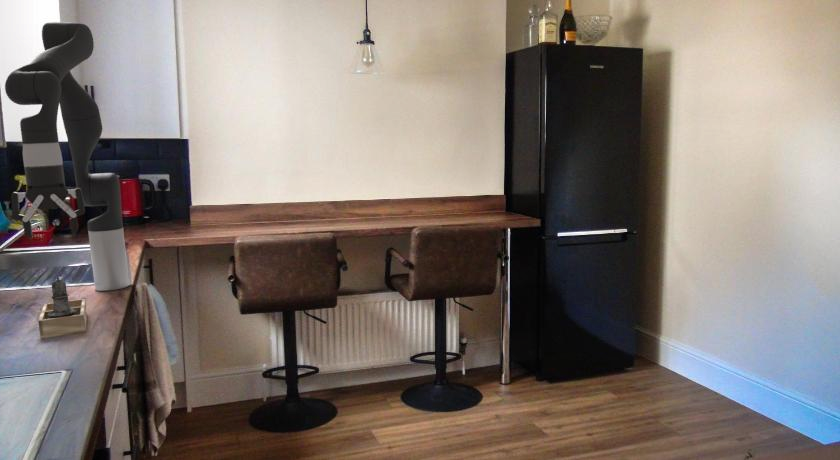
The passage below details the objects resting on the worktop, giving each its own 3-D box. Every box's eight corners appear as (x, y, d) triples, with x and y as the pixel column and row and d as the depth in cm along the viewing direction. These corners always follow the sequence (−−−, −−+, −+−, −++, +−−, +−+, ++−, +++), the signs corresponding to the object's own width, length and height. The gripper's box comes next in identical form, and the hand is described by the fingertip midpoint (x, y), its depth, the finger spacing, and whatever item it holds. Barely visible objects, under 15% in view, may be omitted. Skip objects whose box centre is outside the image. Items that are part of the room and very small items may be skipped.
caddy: (46, 319, 166) (44, 303, 166) (86, 314, 170) (85, 298, 170) (40, 338, 151) (38, 321, 150) (85, 331, 155) (83, 314, 154)
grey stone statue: (83, 325, 158) (77, 274, 156) (60, 332, 153) (53, 279, 151) (68, 323, 161) (61, 273, 159) (44, 329, 156) (37, 278, 154)
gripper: (4, 166, 145) (14, 242, 147) (78, 162, 151) (87, 235, 153) (8, 165, 151) (18, 237, 154) (79, 161, 157) (87, 230, 160)
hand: (52, 236), depth 154 cm, fingers open, 8 cm apart
